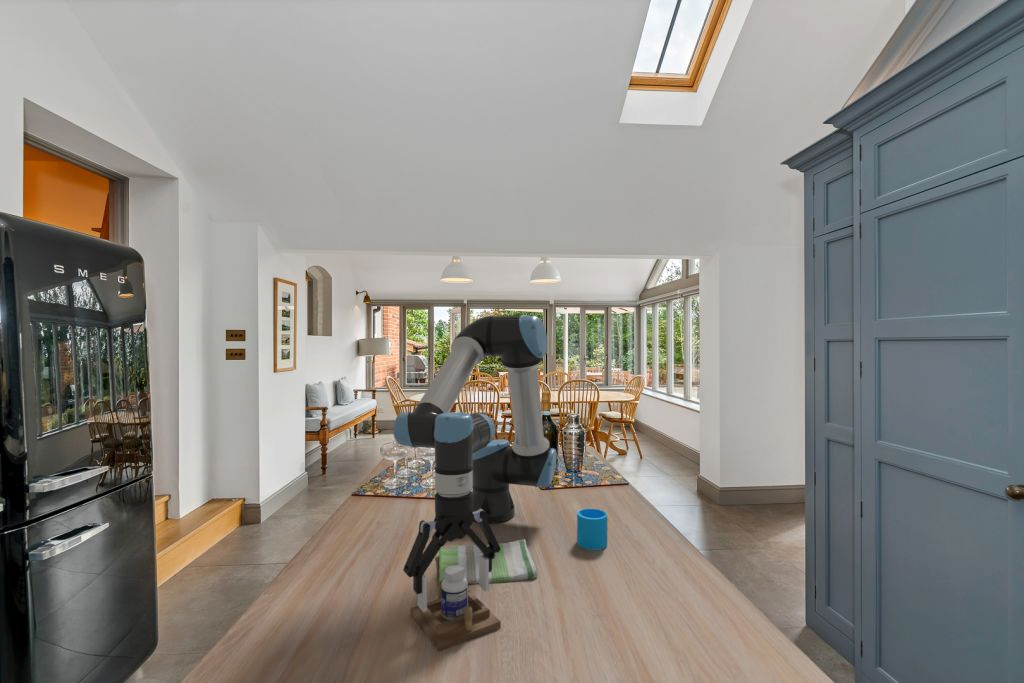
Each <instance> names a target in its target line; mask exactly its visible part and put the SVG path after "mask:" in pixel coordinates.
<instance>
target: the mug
mask: <svg viewBox="0 0 1024 683" xmlns="http://www.w3.org/2000/svg"><path fill="white" fill-rule="evenodd" d="M576 543H577V545H578V546H579V547H580V548H583V549H586V550H592V551H594V550H595V551H597V550H599V551H600V550H603V549H605V548H606V547H608V513H607V512H606V511H604V510H602V509H598V508H582V509H579V510H577V513H576Z"/></svg>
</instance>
